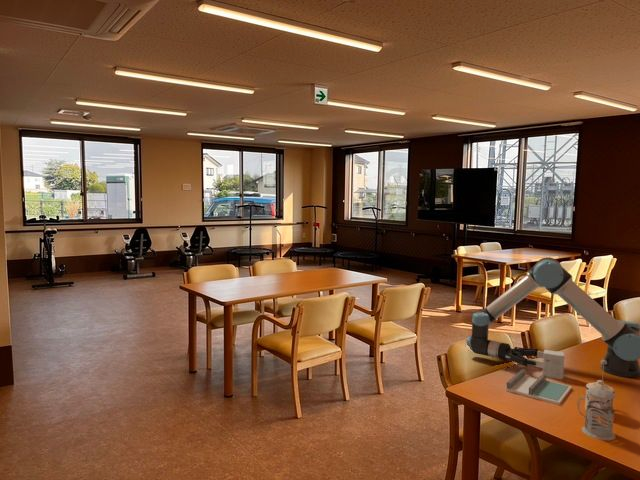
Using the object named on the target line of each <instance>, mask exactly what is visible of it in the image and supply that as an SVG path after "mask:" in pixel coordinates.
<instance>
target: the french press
mask: <svg viewBox="0 0 640 480" xmlns="http://www.w3.org/2000/svg"><path fill="white" fill-rule="evenodd" d="M601 364H603V370H602V371H604V364H607V361H606V360H603V359H601V361H600V365H601ZM601 375H602V379H601V380H602V383H603V382H604V374H601ZM588 393H589V394H590V395H592V396H595V397H598V398H602V399H613V400H614V399H615V398H616V396H617V395H616V394H615V392H614V393H613V392H612V391H610V390H608V389H605V388H601V387H594V388H590V389H588ZM586 397H587V399H588V400H589V397H588V395H587V396H586V394H583V395H581V396H580V397H579V398H578V399H577V404H576V405H577V406H576V407H577V410H578V411H579V414H580V415H581V416H583V417H584V419H585V420H584V426H582V427H581V431H582V432H583V433H584V434H585V435H587V436H588V437H590V438H593V439H597V440H601V441H613V440H615V439H616V434H615V433H614V432H613V428H614V415H615V413H614V410H613V409H614V405H613V406H612V405H611V404H608V403H605V402H603V401H601V400H600V401H595V400H592V401H589V402H588V404H589V405H588V406H587V411H586V414H584V413H583V412H582V411H581V410H580V404H581V401H582V400H585V399H586ZM592 407H593V408H595V409H591V410H589V409H590V408H592ZM596 409H598V410H601V411H603V412H605V413H607V414H609V415H605V414H603V413H601V412H600V411H598V410H596ZM593 411H596V412H598V413H595V412H593ZM599 413H600V414H599Z"/></svg>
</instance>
